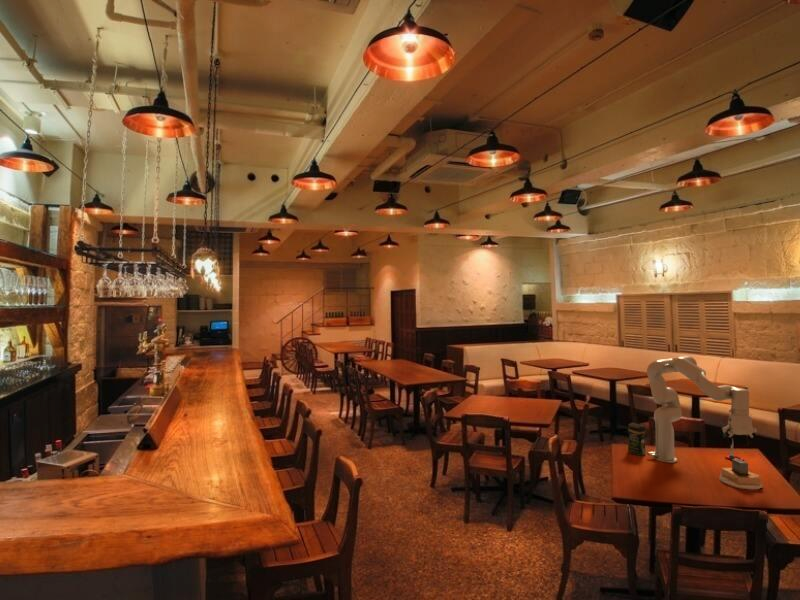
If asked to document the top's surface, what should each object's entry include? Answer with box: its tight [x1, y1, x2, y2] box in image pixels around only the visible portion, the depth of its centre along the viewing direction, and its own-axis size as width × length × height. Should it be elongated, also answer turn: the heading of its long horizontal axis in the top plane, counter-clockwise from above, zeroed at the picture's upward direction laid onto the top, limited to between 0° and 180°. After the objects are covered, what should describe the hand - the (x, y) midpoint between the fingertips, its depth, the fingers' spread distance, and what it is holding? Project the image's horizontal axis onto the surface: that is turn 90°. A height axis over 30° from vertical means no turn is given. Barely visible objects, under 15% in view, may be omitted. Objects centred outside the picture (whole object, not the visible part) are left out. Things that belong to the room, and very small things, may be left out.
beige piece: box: [719, 467, 763, 491], centre depth 238 cm, size 18×18×6 cm
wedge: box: [731, 458, 749, 475], centre depth 238 cm, size 4×6×10 cm, turn 177°
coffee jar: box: [627, 422, 647, 456], centre depth 284 cm, size 10×8×19 cm
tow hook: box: [724, 438, 745, 461], centre depth 273 cm, size 8×13×9 cm
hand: (739, 444), depth 238 cm, fingers open, 9 cm apart
